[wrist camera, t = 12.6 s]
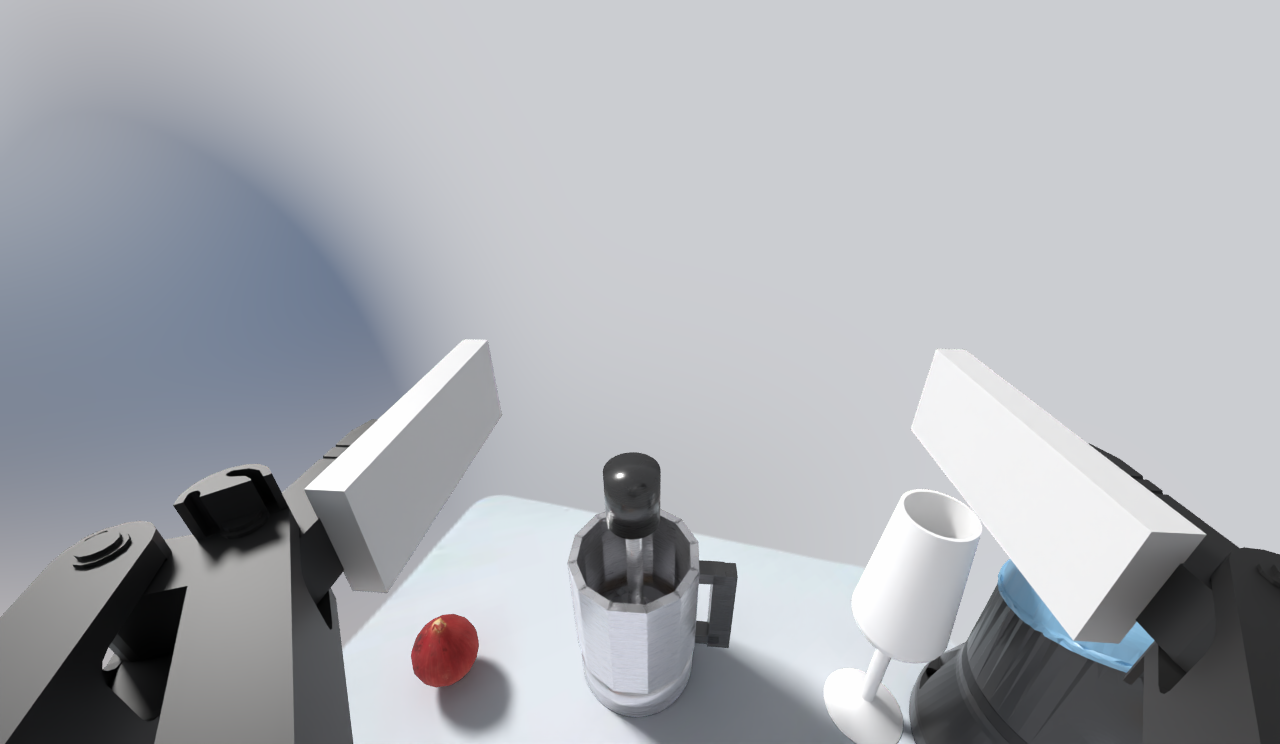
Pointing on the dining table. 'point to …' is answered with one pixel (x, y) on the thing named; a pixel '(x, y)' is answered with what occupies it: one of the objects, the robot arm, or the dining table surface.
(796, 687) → the dining table surface
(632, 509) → the plunger
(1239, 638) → the robot arm
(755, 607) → the dining table surface
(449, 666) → the onion
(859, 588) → the champagne flute
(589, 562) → the press pot
